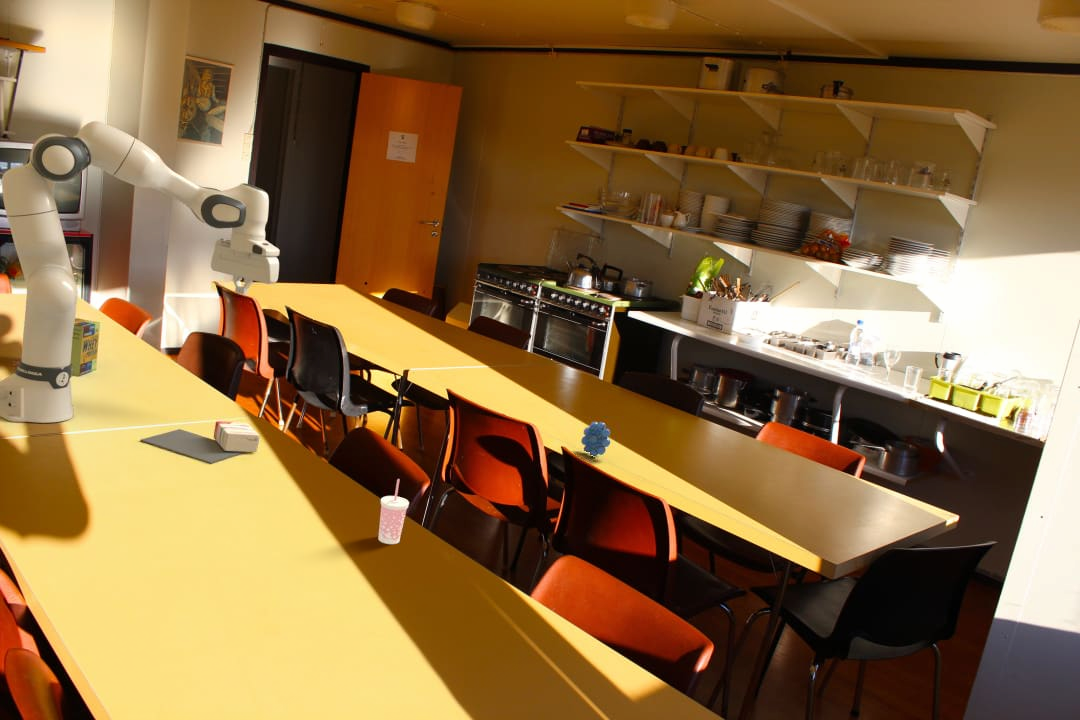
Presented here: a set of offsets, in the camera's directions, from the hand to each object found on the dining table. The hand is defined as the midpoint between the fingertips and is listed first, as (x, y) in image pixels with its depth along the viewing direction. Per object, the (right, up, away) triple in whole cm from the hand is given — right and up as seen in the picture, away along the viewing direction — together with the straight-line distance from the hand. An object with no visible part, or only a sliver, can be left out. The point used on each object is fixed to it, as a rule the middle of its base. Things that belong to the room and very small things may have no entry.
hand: (241, 293), depth 249 cm
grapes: (+101, -50, +37) cm, 118 cm away
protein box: (-64, -22, +27) cm, 72 cm away
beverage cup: (+50, -58, -54) cm, 94 cm away
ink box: (0, -37, -9) cm, 38 cm away
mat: (-6, -41, -19) cm, 45 cm away
